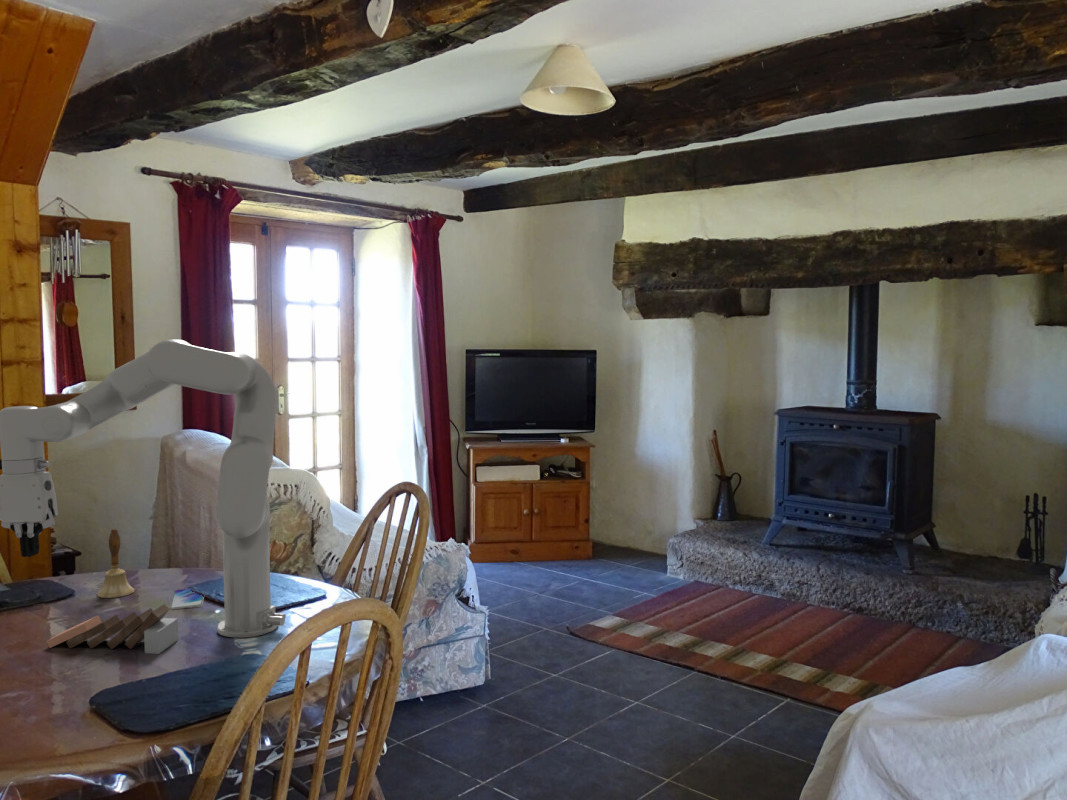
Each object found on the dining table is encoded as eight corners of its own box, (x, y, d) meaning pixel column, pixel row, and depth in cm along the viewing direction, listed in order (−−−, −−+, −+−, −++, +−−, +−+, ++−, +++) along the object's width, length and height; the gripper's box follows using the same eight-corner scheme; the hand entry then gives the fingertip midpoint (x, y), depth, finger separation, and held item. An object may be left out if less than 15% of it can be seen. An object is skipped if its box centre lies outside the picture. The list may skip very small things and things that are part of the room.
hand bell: (100, 589, 213) (98, 526, 211) (136, 587, 215) (134, 524, 214) (94, 599, 205) (91, 534, 203) (131, 596, 207) (129, 532, 206)
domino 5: (143, 640, 177) (169, 609, 176) (130, 649, 172) (157, 617, 171) (137, 635, 177) (164, 604, 176) (124, 644, 172) (151, 611, 171)
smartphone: (169, 608, 197) (174, 589, 211) (169, 612, 197) (174, 593, 211) (202, 604, 200) (205, 586, 214) (202, 608, 200) (205, 589, 214)
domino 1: (64, 639, 178) (101, 622, 178) (50, 648, 173) (87, 630, 173) (61, 632, 178) (98, 615, 178) (46, 641, 173) (84, 623, 173)
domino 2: (84, 639, 178) (120, 621, 177) (69, 648, 173) (106, 629, 172) (80, 633, 178) (116, 614, 177) (66, 641, 173) (103, 622, 172)
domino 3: (104, 640, 178) (139, 618, 177) (91, 649, 173) (126, 626, 172) (100, 633, 178) (134, 611, 177) (86, 642, 173) (121, 619, 172)
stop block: (178, 639, 178) (177, 618, 178) (159, 653, 171) (158, 631, 170) (164, 639, 179) (163, 618, 178) (144, 653, 171) (144, 631, 170)
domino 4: (124, 640, 178) (155, 613, 177) (111, 649, 173) (143, 621, 172) (119, 635, 178) (150, 607, 177) (106, 643, 173) (138, 615, 172)
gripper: (70, 463, 177) (76, 550, 178) (1, 464, 178) (7, 550, 179) (47, 469, 169) (54, 560, 171) (-25, 470, 170) (-18, 560, 172)
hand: (30, 555), depth 175 cm, fingers closed
